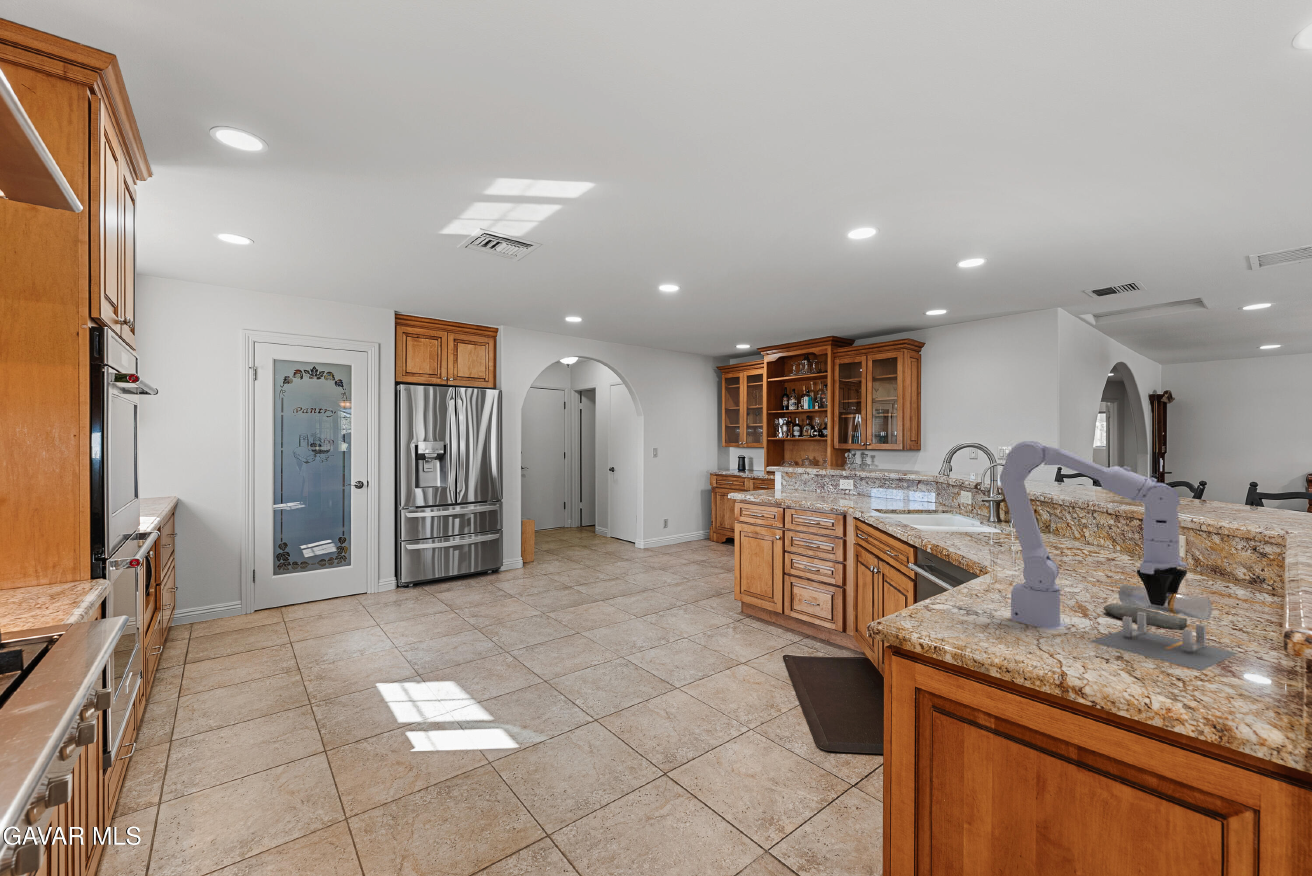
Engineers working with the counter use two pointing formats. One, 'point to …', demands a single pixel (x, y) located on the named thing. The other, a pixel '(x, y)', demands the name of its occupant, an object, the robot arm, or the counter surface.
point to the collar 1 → (1140, 626)
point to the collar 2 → (1188, 639)
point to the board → (1165, 649)
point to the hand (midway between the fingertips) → (1162, 603)
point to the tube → (1167, 602)
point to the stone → (1147, 616)
